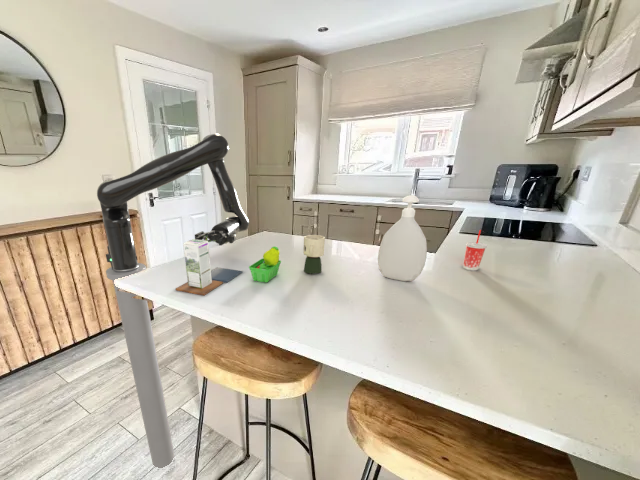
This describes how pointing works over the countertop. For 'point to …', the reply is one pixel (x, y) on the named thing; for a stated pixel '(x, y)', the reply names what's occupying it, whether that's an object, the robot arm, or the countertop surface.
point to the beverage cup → (474, 254)
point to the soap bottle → (403, 247)
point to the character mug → (313, 253)
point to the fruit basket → (266, 266)
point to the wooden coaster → (199, 290)
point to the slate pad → (224, 274)
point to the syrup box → (197, 263)
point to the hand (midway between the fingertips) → (208, 242)
